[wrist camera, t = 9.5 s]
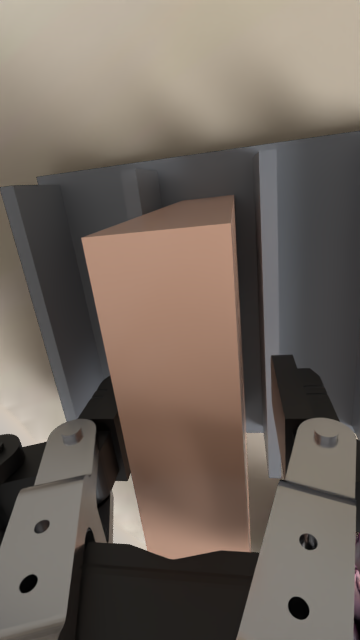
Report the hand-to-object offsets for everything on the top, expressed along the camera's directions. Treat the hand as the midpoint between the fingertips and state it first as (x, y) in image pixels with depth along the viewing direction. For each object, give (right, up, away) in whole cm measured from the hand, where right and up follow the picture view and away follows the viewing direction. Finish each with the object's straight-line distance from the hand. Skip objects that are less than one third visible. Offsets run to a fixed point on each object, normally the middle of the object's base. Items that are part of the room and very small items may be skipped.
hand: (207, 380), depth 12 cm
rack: (+1, +3, +8) cm, 8 cm away
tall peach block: (+1, +3, +6) cm, 7 cm away
